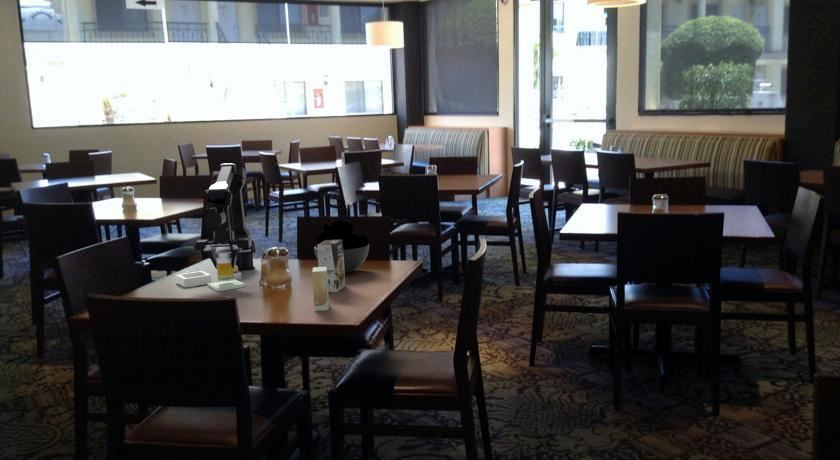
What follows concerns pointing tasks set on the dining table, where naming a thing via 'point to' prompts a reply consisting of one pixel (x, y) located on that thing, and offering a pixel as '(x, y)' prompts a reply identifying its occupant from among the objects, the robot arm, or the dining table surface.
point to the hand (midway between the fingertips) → (225, 268)
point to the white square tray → (193, 279)
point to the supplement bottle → (224, 267)
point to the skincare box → (320, 288)
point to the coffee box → (332, 263)
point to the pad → (226, 285)
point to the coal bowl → (346, 244)
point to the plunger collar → (237, 275)
